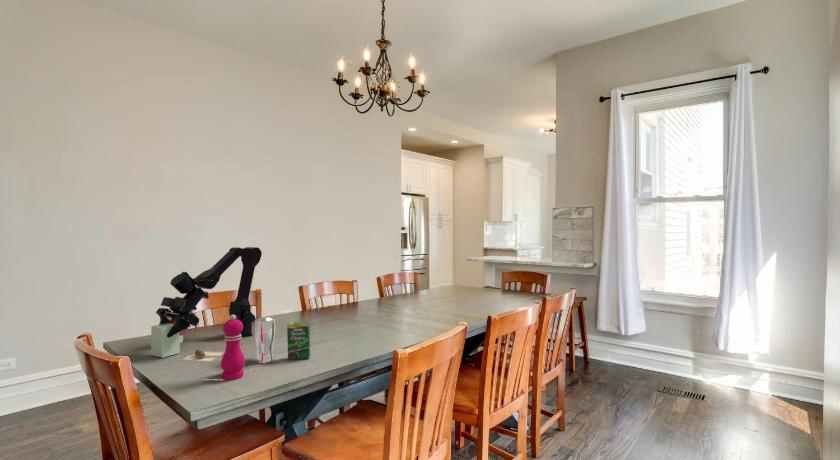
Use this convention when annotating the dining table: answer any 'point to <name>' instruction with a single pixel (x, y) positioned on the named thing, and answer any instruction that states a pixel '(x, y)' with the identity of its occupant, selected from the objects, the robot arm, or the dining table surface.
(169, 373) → the dining table surface
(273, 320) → the beer glass
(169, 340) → the pale green block
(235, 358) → the pepper mill
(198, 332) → the dining table surface
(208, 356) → the board
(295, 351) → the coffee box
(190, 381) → the dining table surface
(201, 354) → the balls
